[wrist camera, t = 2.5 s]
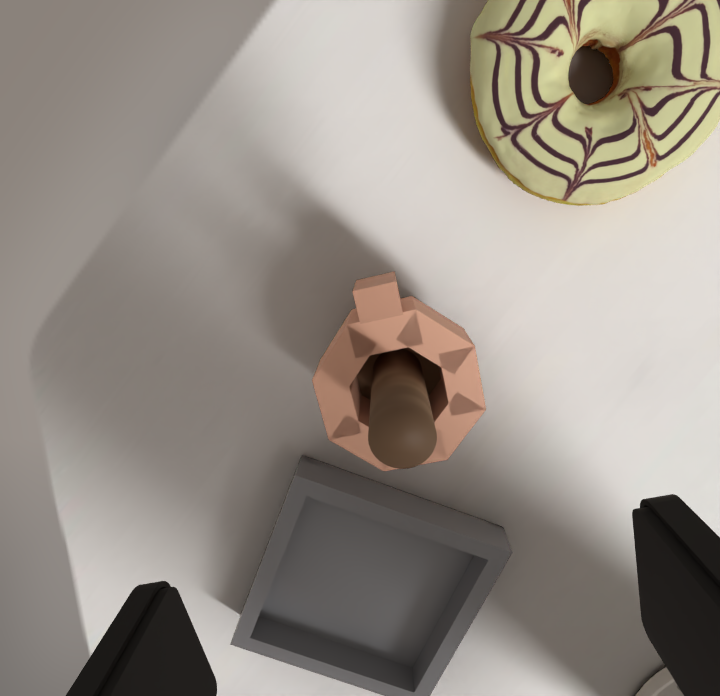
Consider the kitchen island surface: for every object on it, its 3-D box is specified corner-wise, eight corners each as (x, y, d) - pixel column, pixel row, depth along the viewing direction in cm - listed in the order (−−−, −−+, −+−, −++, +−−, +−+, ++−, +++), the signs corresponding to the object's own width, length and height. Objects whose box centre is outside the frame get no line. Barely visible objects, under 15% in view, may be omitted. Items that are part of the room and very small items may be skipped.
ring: (450, 258, 22) (460, 266, 19) (480, 421, 24) (493, 451, 21) (302, 292, 23) (290, 305, 20) (345, 447, 25) (339, 479, 22)
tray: (302, 455, 28) (295, 475, 26) (502, 527, 29) (512, 552, 27) (240, 615, 32) (230, 644, 30) (420, 676, 33) (422, 708, 31)
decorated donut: (630, -113, 20) (684, -183, 17) (732, 116, 22) (800, 98, 19) (420, 49, 22) (428, 19, 19) (533, 244, 24) (560, 250, 21)
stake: (439, 288, 25) (473, 339, 16) (459, 392, 27) (501, 496, 17) (329, 312, 26) (297, 376, 16) (355, 412, 27) (340, 524, 18)
